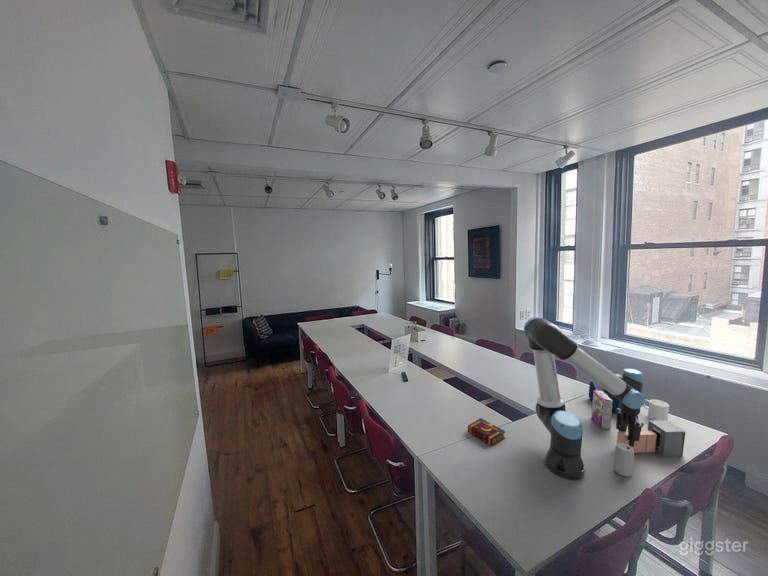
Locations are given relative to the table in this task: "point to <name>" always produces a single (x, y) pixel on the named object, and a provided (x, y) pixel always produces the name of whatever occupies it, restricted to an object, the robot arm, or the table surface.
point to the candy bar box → (602, 409)
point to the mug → (657, 410)
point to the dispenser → (668, 438)
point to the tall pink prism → (640, 441)
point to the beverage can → (623, 459)
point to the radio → (614, 399)
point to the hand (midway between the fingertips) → (625, 448)
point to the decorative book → (486, 432)
